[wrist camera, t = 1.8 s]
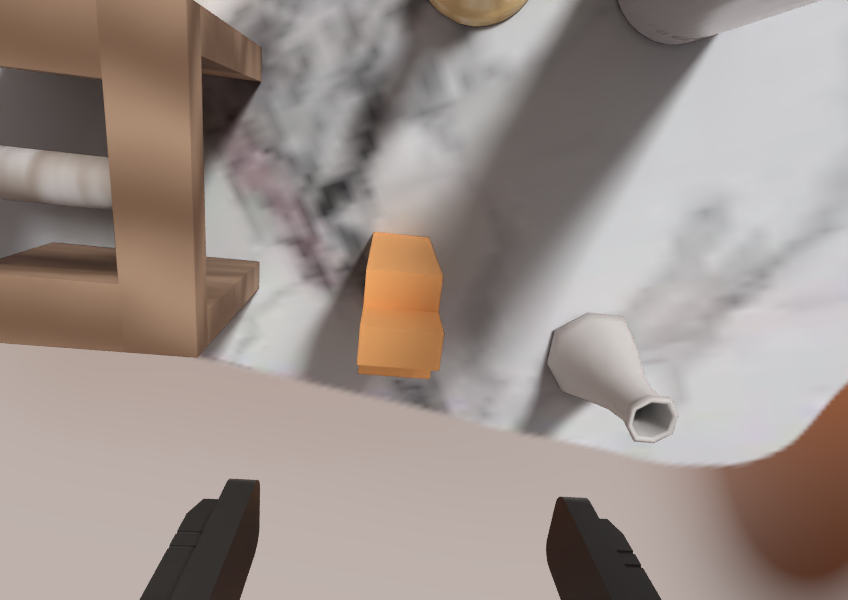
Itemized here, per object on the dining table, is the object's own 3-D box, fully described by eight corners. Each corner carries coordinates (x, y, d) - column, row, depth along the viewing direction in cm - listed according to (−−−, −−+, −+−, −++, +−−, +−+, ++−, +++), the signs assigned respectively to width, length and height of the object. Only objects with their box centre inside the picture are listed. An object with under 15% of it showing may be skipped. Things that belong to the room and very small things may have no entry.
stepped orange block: (373, 231, 35) (363, 285, 22) (429, 237, 36) (449, 293, 23) (367, 310, 37) (354, 401, 24) (419, 314, 37) (434, 406, 25)
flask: (550, 400, 41) (598, 481, 31) (541, 320, 38) (590, 380, 29) (636, 383, 41) (711, 458, 31) (632, 302, 38) (711, 356, 29)
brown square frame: (25, 16, 30) (-201, -60, 18) (261, 47, 31) (186, -5, 20) (56, 270, 35) (-108, 334, 23) (259, 288, 36) (197, 357, 25)
